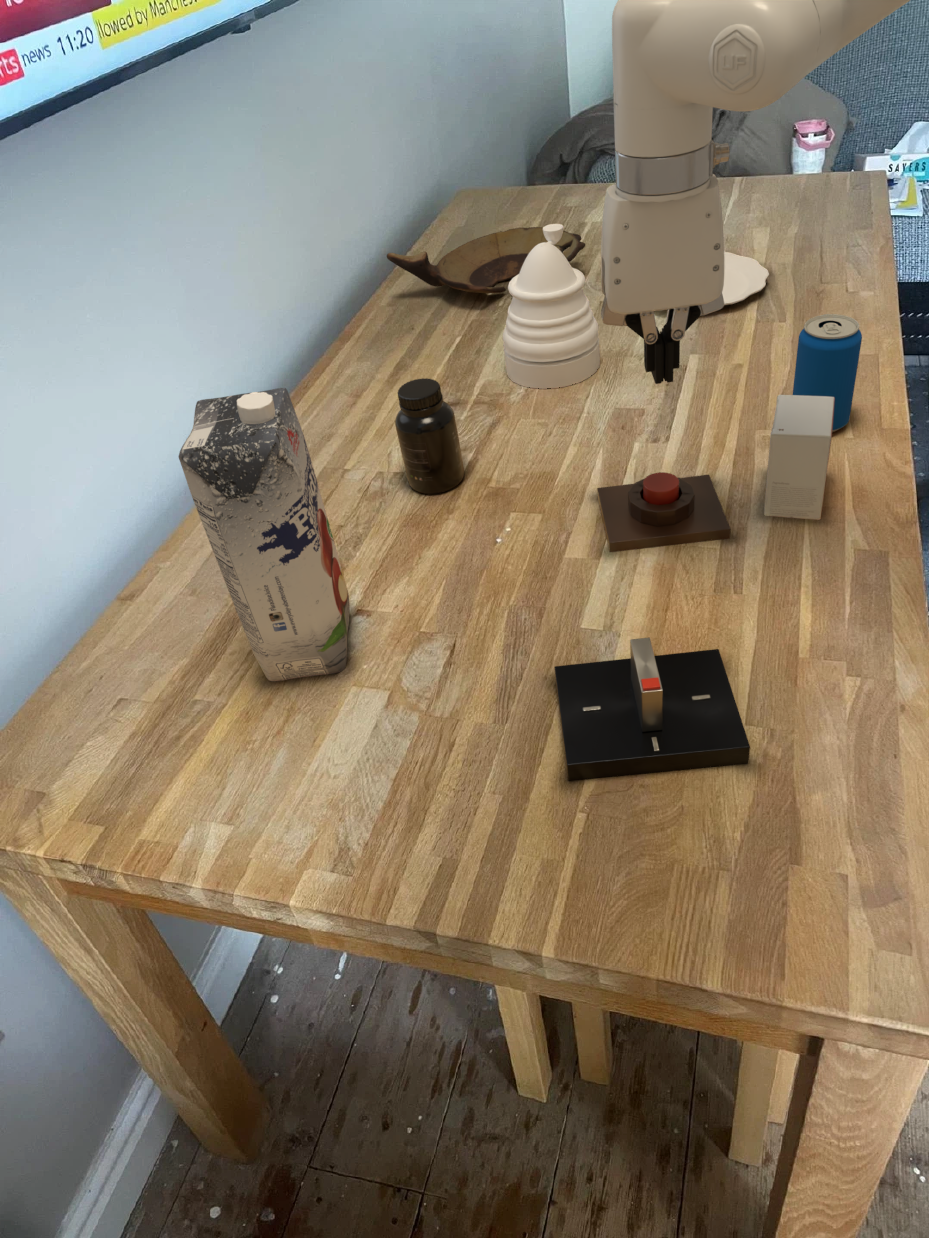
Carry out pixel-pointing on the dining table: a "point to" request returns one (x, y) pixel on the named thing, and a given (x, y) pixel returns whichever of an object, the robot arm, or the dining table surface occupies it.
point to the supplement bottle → (428, 438)
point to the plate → (741, 277)
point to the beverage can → (829, 362)
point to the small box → (799, 456)
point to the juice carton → (269, 531)
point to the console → (610, 726)
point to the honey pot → (550, 321)
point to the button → (661, 488)
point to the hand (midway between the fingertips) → (661, 376)
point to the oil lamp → (484, 259)
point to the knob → (646, 684)
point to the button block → (662, 516)
